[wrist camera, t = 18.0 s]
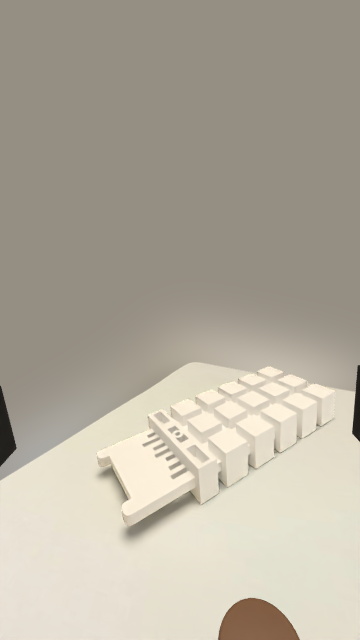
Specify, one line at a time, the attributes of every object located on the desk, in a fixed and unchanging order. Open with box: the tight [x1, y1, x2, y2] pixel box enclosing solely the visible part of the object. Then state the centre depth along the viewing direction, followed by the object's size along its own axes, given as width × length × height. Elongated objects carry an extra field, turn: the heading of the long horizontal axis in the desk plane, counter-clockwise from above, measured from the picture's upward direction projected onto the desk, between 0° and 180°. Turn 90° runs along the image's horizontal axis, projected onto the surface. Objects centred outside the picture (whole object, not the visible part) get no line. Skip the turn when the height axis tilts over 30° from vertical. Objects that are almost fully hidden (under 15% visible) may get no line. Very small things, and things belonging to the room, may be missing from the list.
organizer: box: [97, 367, 335, 526], centre depth 40 cm, size 13×5×35 cm
